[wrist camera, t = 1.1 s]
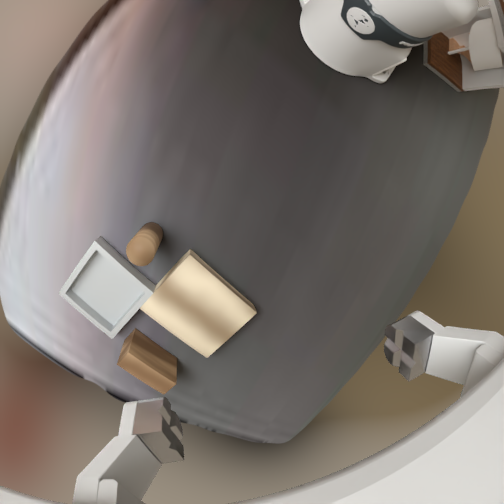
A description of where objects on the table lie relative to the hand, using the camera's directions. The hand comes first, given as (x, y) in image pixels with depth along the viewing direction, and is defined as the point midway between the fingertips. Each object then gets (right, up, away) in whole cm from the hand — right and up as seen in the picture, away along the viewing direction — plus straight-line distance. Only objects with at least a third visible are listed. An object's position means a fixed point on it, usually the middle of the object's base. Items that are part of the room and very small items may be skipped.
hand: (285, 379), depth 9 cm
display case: (+35, +42, +25) cm, 61 cm away
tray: (-21, 0, +26) cm, 33 cm away
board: (-9, -3, +30) cm, 31 cm away
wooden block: (-16, -10, +30) cm, 36 cm away
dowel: (-14, +7, +25) cm, 30 cm away
